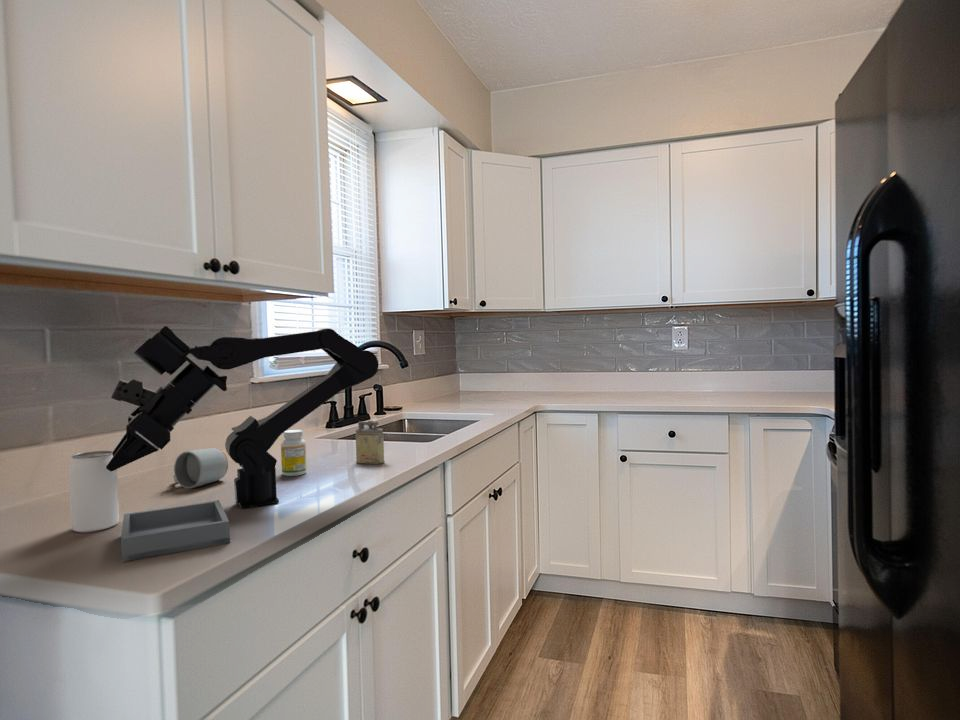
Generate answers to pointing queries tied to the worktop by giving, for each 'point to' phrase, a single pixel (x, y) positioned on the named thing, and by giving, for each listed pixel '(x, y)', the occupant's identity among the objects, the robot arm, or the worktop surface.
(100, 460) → the can
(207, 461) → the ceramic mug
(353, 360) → the robot arm
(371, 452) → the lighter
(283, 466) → the supplement bottle
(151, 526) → the tray
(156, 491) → the worktop surface
